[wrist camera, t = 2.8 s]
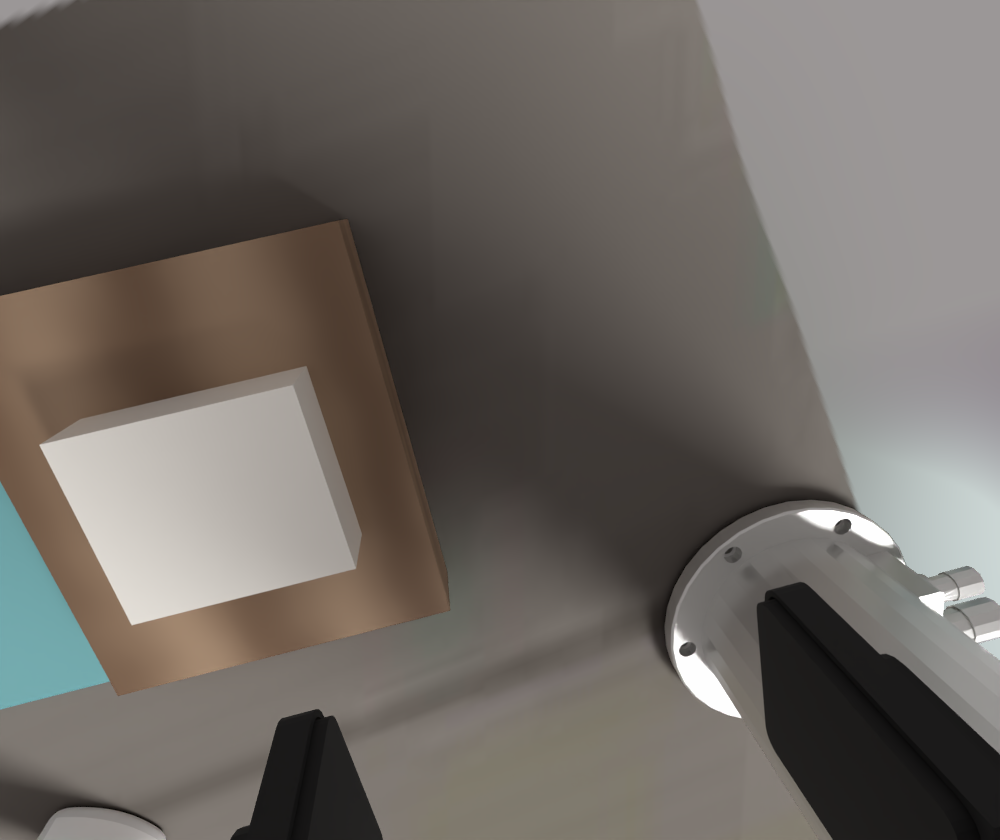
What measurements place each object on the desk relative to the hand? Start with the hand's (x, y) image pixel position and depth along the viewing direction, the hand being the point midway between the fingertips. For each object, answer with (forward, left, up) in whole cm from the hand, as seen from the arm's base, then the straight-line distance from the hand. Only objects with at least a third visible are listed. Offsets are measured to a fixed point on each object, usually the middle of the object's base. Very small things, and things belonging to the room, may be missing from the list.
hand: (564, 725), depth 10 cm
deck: (+10, 0, -18) cm, 20 cm away
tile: (+9, 0, -15) cm, 17 cm away
